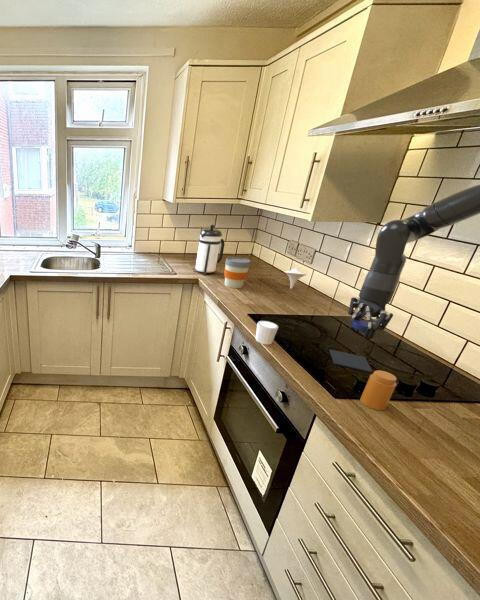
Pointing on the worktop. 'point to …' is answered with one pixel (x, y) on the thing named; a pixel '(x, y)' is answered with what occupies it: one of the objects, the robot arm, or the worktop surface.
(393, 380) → the jar
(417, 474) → the worktop surface
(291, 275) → the mushroom
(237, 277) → the reusable coffee cup
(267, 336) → the white cylinder
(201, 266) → the coffee press
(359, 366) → the coaster
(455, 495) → the worktop surface
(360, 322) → the jar lid
